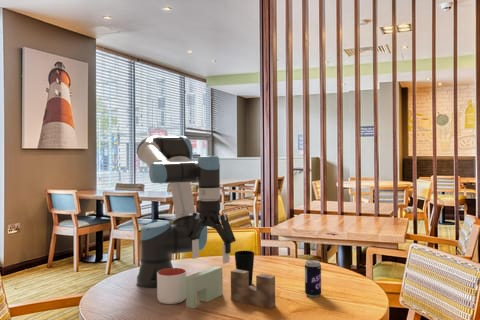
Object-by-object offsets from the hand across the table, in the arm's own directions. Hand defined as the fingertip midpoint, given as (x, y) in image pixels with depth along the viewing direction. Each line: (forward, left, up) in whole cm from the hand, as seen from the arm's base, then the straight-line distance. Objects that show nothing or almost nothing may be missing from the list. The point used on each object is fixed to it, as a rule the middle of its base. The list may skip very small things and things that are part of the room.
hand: (210, 260), depth 147 cm
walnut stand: (+15, +4, -13) cm, 20 cm away
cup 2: (+1, +20, -14) cm, 24 cm away
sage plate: (0, -3, -13) cm, 14 cm away
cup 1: (-10, -9, -14) cm, 19 cm away
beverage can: (+29, +22, -14) cm, 39 cm away
